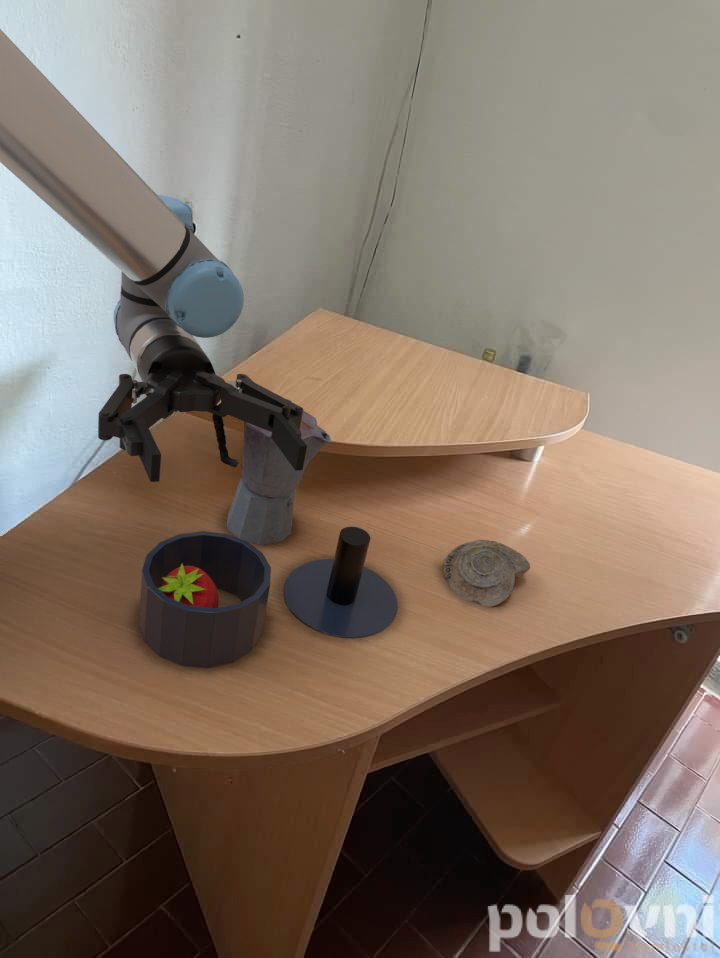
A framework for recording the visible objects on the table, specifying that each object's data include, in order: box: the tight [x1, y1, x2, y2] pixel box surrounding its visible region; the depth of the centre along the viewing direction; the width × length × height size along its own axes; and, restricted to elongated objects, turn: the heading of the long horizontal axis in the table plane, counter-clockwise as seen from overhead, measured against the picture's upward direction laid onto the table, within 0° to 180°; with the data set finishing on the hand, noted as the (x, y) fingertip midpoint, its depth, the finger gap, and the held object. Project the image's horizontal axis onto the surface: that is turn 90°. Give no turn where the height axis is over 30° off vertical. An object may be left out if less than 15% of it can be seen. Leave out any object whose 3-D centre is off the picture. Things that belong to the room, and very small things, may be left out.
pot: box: [138, 530, 272, 669], centre depth 75 cm, size 13×13×8 cm
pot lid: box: [282, 526, 399, 639], centre depth 82 cm, size 14×14×10 cm
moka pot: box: [212, 398, 332, 546], centre depth 89 cm, size 10×15×20 cm, turn 81°
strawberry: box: [158, 564, 220, 608], centre depth 72 cm, size 6×8×10 cm
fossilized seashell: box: [442, 539, 531, 608], centre depth 92 cm, size 11×11×7 cm
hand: (232, 463), depth 63 cm, fingers open, 13 cm apart
